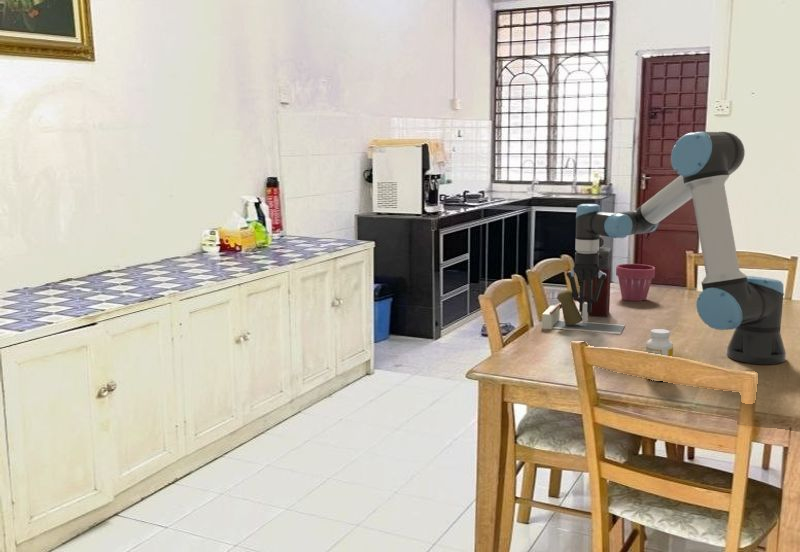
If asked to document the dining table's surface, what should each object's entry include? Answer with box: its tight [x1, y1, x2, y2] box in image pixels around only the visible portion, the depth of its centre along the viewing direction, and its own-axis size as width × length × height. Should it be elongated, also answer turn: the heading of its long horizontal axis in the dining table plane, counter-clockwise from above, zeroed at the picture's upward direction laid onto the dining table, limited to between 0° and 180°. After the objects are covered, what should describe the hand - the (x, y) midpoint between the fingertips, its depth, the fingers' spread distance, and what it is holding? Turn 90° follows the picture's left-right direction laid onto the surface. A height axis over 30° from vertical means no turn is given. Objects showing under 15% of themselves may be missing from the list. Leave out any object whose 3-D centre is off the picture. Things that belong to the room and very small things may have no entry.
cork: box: [557, 289, 582, 326], centre depth 262 cm, size 6×6×11 cm
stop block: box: [541, 303, 561, 330], centre depth 265 cm, size 14×3×6 cm, turn 158°
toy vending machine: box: [580, 235, 612, 318], centre depth 277 cm, size 9×11×28 cm
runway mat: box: [551, 319, 626, 335], centre depth 261 cm, size 12×22×1 cm, turn 68°
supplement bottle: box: [645, 328, 674, 382], centre depth 205 cm, size 7×7×13 cm
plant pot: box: [615, 263, 656, 302], centre depth 304 cm, size 14×14×13 cm
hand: (585, 322), depth 261 cm, fingers closed
